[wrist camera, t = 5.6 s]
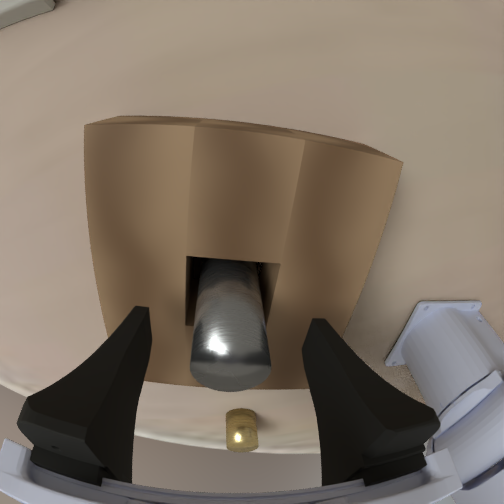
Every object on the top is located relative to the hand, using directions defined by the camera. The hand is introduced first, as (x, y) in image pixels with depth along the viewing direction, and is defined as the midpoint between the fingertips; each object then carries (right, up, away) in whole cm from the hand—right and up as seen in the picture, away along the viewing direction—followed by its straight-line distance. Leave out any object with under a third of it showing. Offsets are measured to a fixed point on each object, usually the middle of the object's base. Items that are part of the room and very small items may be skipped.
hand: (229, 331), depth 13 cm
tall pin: (0, +3, +6) cm, 7 cm away
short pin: (0, -14, +16) cm, 21 cm away
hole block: (0, +3, +6) cm, 7 cm away
